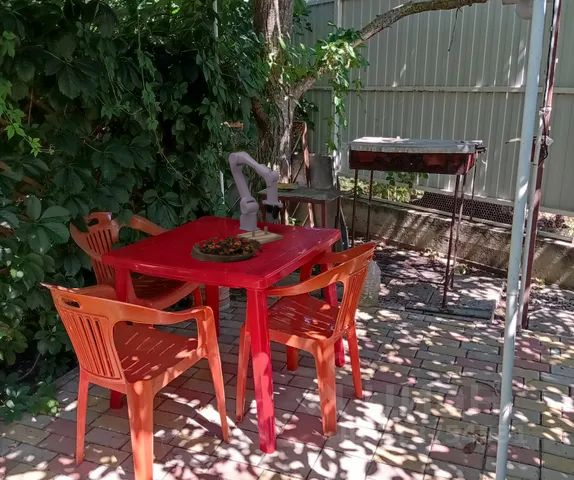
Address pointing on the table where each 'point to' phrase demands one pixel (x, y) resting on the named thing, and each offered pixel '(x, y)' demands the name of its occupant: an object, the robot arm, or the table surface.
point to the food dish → (226, 250)
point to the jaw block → (271, 217)
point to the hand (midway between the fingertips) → (272, 218)
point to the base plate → (261, 236)
